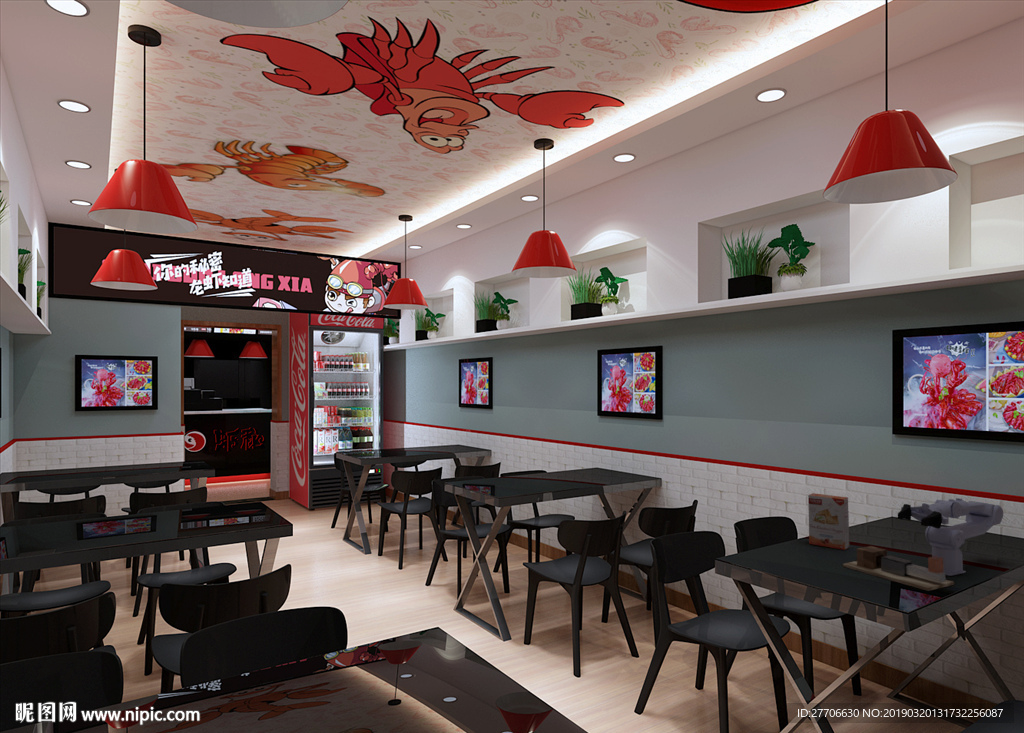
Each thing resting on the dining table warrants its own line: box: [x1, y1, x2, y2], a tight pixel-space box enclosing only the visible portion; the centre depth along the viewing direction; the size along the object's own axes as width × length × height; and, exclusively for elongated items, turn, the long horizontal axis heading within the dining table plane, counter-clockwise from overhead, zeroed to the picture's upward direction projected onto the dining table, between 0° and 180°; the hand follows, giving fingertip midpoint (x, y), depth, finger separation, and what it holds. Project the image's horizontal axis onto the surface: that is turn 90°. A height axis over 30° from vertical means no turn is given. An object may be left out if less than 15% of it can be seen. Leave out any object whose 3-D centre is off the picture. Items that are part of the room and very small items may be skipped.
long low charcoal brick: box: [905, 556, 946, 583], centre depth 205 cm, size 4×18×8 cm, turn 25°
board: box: [842, 560, 955, 592], centre depth 211 cm, size 14×30×1 cm, turn 25°
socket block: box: [856, 545, 888, 569], centre depth 219 cm, size 8×6×6 cm
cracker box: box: [807, 492, 850, 551], centre depth 250 cm, size 14×6×21 cm, turn 45°
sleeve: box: [881, 554, 914, 577], centre depth 211 cm, size 5×8×5 cm, turn 25°
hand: (910, 519), depth 206 cm, fingers open, 7 cm apart
